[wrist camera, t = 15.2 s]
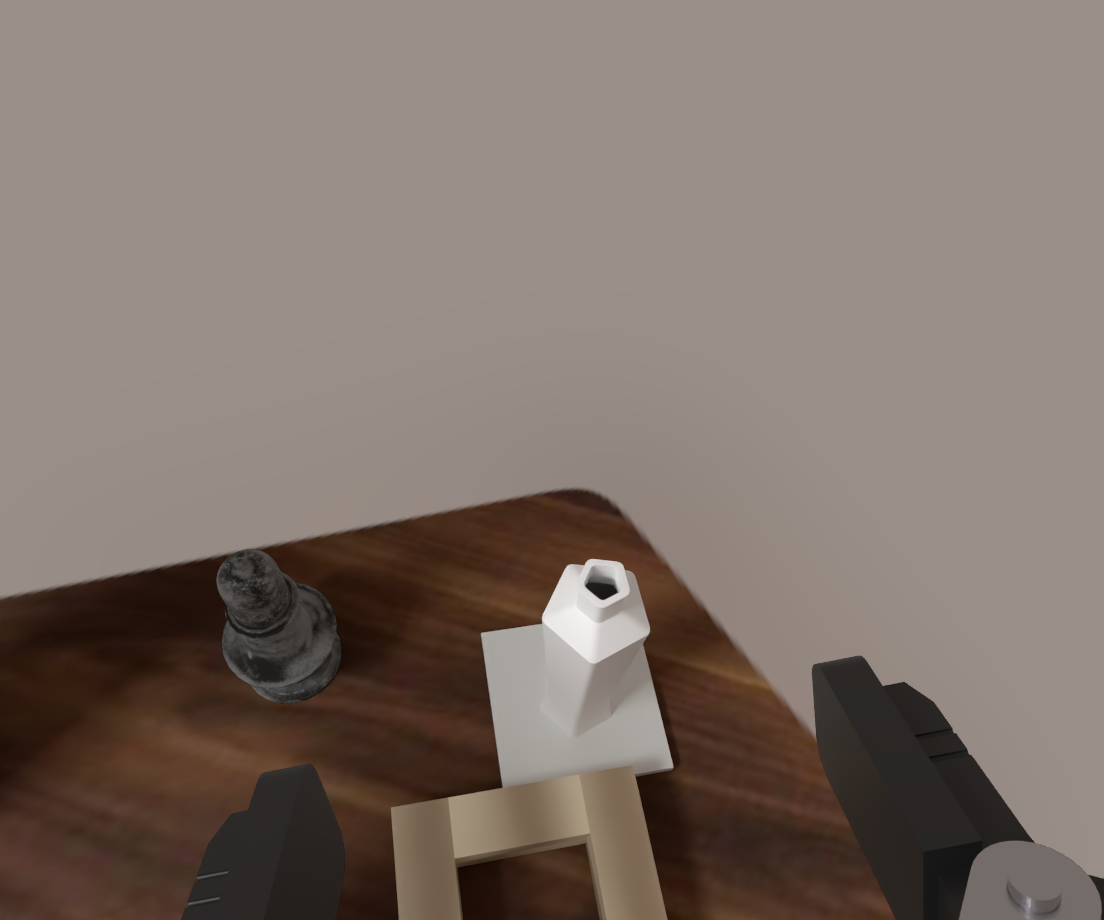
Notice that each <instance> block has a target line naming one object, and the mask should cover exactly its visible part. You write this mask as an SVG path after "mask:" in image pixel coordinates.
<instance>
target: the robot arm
mask: <svg viewBox="0 0 1104 920" xmlns="http://www.w3.org/2000/svg"><path fill="white" fill-rule="evenodd" d="M812 680H813V695H814V709H815V725H816V738H817V745H818V750H819V754H820V758H821V761H822V764H823V767H824V770H825V773H826V775H827V778H828V780H829V782H830V784H831V786H832V788H833V790H834V792H835V794H836V797H837V799H838V801H839V803H840V805H841V807H842V809H843V811H844V813H845V815H846V817H847V819H848V821H849V823H850V825H851V828H852V830H853V832H854V834H855V836H856V838H857V840H858V842H859V844H860V846H861V848H862V850H863V852H864V854H865V856H866V859H867V861H868V863H869V865H870V867H871V869H872V871H873V873H874V875H875V877H876V879H877V881H878V883H879V885H880V887H881V890H882V892H883V894H884V896H885V898H886V900H887V902H888V904H889V906H890V908H891V910H892V912H893V914H894V916H895V918H896V920H1104V879H1103V878H1098V877H1095V876H1091V875H1088V874H1086V872H1085V871H1084V870H1083V869H1082V868H1081V867H1080V866H1078V865H1077V864H1076V863H1075V862H1074V861H1073V860H1071V859H1070V858H1068V857H1066V856H1065V855H1063V854H1062V853H1059V852H1058V851H1056V850H1054V849H1052V848H1049V847H1046V846H1043V845H1040V844H1036V843H1035V842H1034V841H1033V840H1032V839H1031V838H1030V836H1029V835H1028V834H1027V833H1026V831H1025V830H1024V828H1023V827H1022V826H1021V824H1020V823H1019V821H1018V820H1017V818H1016V817H1015V816H1014V814H1013V813H1012V811H1011V810H1010V809H1009V807H1008V806H1007V805H1006V803H1005V802H1004V800H1003V799H1002V797H1001V796H1000V795H999V793H998V792H997V790H996V789H995V788H994V786H993V785H992V783H991V782H990V780H989V779H988V778H987V776H986V775H985V773H984V772H983V771H982V769H981V768H980V766H979V765H978V764H977V762H976V761H975V759H974V758H973V757H972V756H971V755H969V754H968V751H967V748H966V747H965V745H964V744H963V743H962V741H961V740H960V738H959V737H958V736H957V734H956V733H953V730H952V727H951V726H950V724H949V723H948V721H947V720H946V719H945V717H944V716H943V715H942V713H941V712H940V710H939V709H938V707H937V706H936V705H935V703H934V702H933V701H931V700H930V699H928V698H927V697H926V696H924V695H923V694H921V693H920V692H918V691H917V690H915V689H914V688H912V687H911V686H909V685H908V684H907V683H905V682H902V683H897V684H892V685H886V686H882V684H881V683H880V681H879V680H878V678H877V677H876V675H875V674H874V672H873V670H872V669H871V667H870V666H869V664H868V663H867V661H866V660H865V659H864V658H863V657H862V656H854V657H850V658H844V659H839V660H835V661H829V662H824V663H818V664H815V665H813V668H812ZM344 871H345V851H344V843H343V838H342V834H341V830H340V828H339V825H338V823H337V820H336V818H335V815H334V813H333V810H332V808H331V805H330V803H329V800H328V798H327V795H326V793H325V790H324V788H323V785H322V783H321V781H320V778H319V776H318V773H317V771H316V769H315V768H314V766H313V765H311V764H306V765H301V766H295V767H290V768H285V769H280V770H275V771H270V772H265V773H263V774H262V775H261V776H260V777H259V779H258V781H257V784H256V787H255V790H254V793H253V797H252V800H251V803H250V806H249V809H248V811H243V812H238V813H233V814H231V815H230V816H229V818H228V819H227V820H226V821H225V823H224V824H223V825H222V827H221V828H220V829H219V831H218V832H217V833H216V835H215V836H214V837H213V838H212V840H211V841H210V842H209V844H208V846H207V849H206V852H205V855H204V857H203V860H202V863H201V866H200V868H199V871H198V874H197V878H198V879H197V881H196V882H194V885H193V888H192V891H191V893H190V896H189V899H188V908H185V910H184V913H183V916H182V918H181V920H336V917H337V911H338V906H339V900H340V894H341V889H342V883H343V877H344Z"/></svg>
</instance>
